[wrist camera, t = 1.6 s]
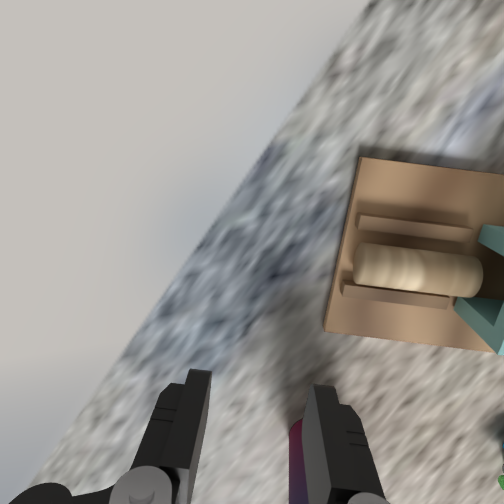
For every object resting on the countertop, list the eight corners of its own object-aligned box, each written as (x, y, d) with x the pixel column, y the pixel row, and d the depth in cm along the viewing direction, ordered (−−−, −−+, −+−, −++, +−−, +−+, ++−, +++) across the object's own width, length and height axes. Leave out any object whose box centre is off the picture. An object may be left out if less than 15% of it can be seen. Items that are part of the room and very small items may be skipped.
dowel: (467, 249, 27) (488, 268, 24) (452, 283, 28) (471, 306, 25) (359, 235, 27) (369, 253, 24) (350, 271, 28) (358, 291, 25)
